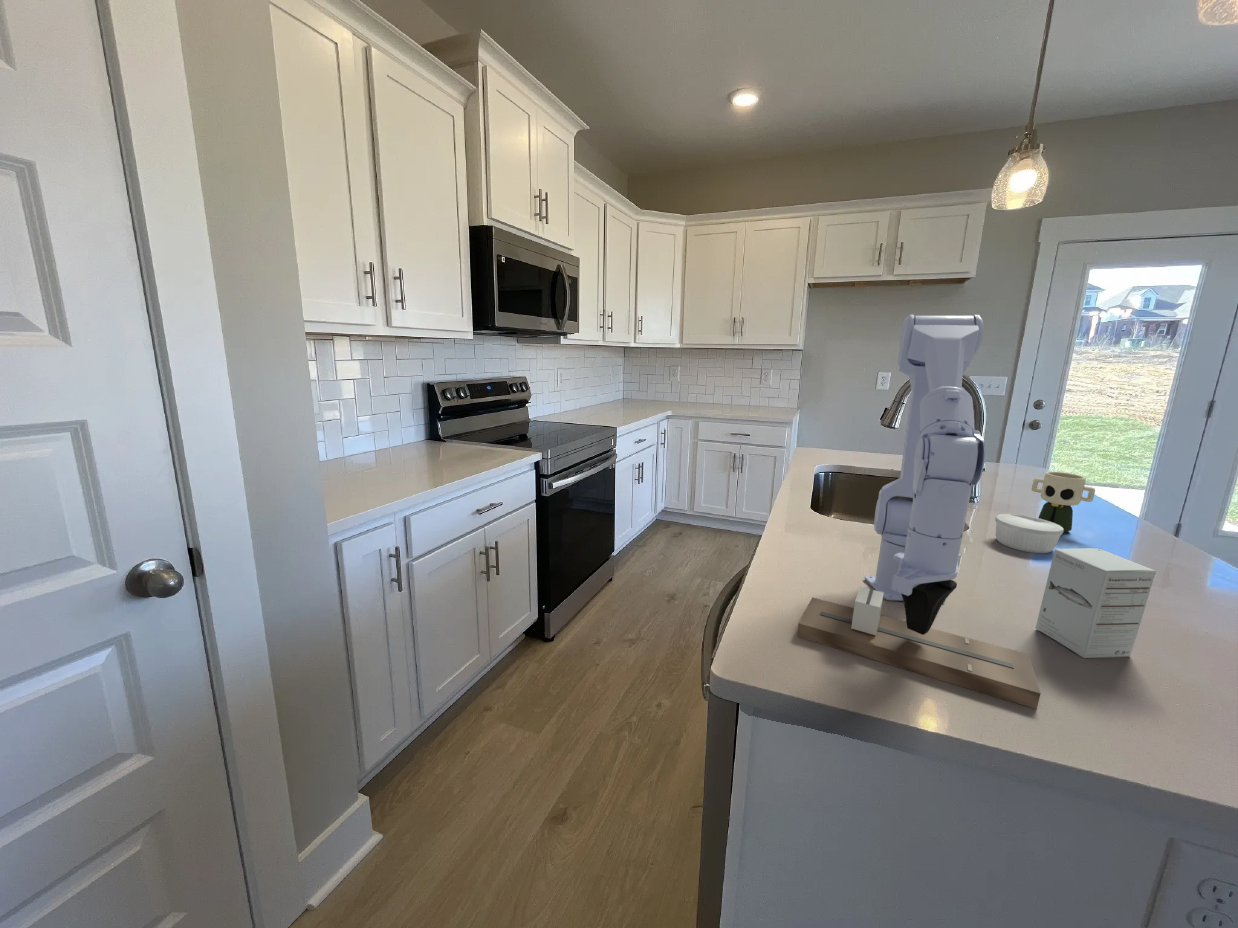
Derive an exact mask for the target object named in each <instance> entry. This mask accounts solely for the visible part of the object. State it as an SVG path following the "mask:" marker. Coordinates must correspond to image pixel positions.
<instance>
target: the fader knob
mask: <svg viewBox="0 0 1238 928" xmlns="http://www.w3.org/2000/svg"><path fill="white" fill-rule="evenodd" d="M883 595H884V592H880V591H876V590H875V589H874V588H866V587H862V586H860V587H859V589H858V591H857V595H856V597H855V600H854V601H855V602H854V607H853V608H854V613H853V619H852V626H851V628H852V629H855V630H859V631H862V632H866V633H869V634H873V635H876V634H877V629H878V625H879V620H880V615H881V613H882V608H883V607H882V606H883V602H884V601H883V600H884V598H883Z"/></svg>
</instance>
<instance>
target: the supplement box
mask: <svg viewBox="0 0 1238 928" xmlns="http://www.w3.org/2000/svg"><path fill="white" fill-rule="evenodd" d="M1053 551H1054V552H1053V555H1052V560H1051V564H1050V568H1049V573H1048V576H1047V581H1046V584H1045V588H1044V592H1043V596H1042V600H1041V604H1040V608H1039V613H1038V616H1037V621H1036V624H1035V630H1036V631H1039V632H1041V633H1043V634H1045V635H1046V636H1048V637H1049V638H1051V639H1052V640H1054V641H1056V642H1058V643H1059V644H1061V645H1062V646H1064V647H1066V648H1067V649H1069V650H1071V651H1072V652H1074V653H1075V654H1077V656H1079V657H1081V658H1082V659H1087V658H1088V659H1094V658H1095V659H1096V658H1097V659H1098V658H1099V659H1100V658H1101V659H1103V658H1123V657H1125V658H1126V657H1127V658H1128V657H1131V655H1132V651H1133V649H1134V646H1135V643H1136V639H1137V637H1138V636H1137V635H1138V633H1139V630H1140V625H1141V622H1142V619H1143V615H1144V612H1145V609H1146V606H1147V602H1148V598H1149V596H1150V592H1151V588H1152V585H1153V582H1154V579H1155V576H1156V574H1157V570H1155V569H1152V568H1150V567H1148V566H1144V565H1142V564H1140V563H1137V562H1134V561H1132V560H1129V559H1127V558H1124V557H1123V556H1119V555H1116V554H1115V553H1112V552H1109V551H1107V550H1103V549H1101V548H1097V547H1096V548H1093V547H1090V548H1089V547H1087V548H1086V547H1085V548H1083V547H1082V548H1054V550H1053Z"/></svg>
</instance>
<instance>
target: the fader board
mask: <svg viewBox="0 0 1238 928" xmlns="http://www.w3.org/2000/svg"><path fill="white" fill-rule="evenodd" d="M853 613H854V607H850V606H847V605H843V604H839V603H835V602H831V601H828V600H824V599H820V598H816V597H811V599H810V600H809V603H808V605H807V606H806V608H805V611H804V612H803V614H802V616H801V618H800V620H799V621H798V627H797V635H796V636H797V637H798V638H801V639H806V640H807V641H808V640H809V641H811V642H815V643H818V644H822V645H825V646H828V647H831V648H835V649H838V650H841V651H844V652H848V653H851V654H854V655H858V656H861V657H864V658H867V659H870V660H874V661H877V662H881V663H884V664H887V665H891V666H893V667H894V666H895V667H897V668H901V669H903V670H907V671H909V672H914V673H916V674H919V675H924V676H927V677H930V678H933V679H936V680H940V681H943V682H947V683H950V684H953V685H956V686H960V687H963V688H966V689H969V690H972V691H976V692H979V693H982V694H985V695H990V696H992V697H995V698H999V699H1002V700H1006V701H1007V702H1008V701H1009V702H1012V703H1016V704H1018V705H1022V706H1024V707H1029V708H1032V709H1036V710H1037V709H1038V706H1039V702H1040V698H1041V695H1042V693H1041V691H1040V686H1039V683H1038V681H1037V678H1036V673H1035V671H1034V667H1033V665H1032V660H1031V657H1030V654H1029V653H1026V652H1023V651H1018V650H1014V649H1012V648H1007V647H1003V646H1000V645H996V644H993V643H992V644H991V643H989V642H988V643H987V642H985V641H982V640H981V641H980V640H977V639H972V638H969V637H965V636H961V635H958V634H954V633H951V632H950V633H949V632H946V631H942V630H940V629H936V628H932V627H931V628H930V630H929V631H928V632H927V633H926V634H924V635H922V634H919V633H917V632H915V631H913V630H910V629H908V628H907V623H906V620H900V619H897V618H892V617H889V616H886V615H881V614H880V620H879V625H878V629H877V634H876V635H873V634H869V633H866V632H862V631H859V630H855V629H852V628H851V626H852V619H853Z"/></svg>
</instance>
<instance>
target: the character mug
mask: <svg viewBox="0 0 1238 928" xmlns="http://www.w3.org/2000/svg"><path fill="white" fill-rule="evenodd" d="M1086 481H1087V477H1085V476H1084V475H1079V474H1076V473H1075V474H1074V473H1069V472H1065V471H1064V472H1063V471H1045V475H1044V478H1039V477H1036V478H1035V477H1034V478H1033V480H1032V484H1031V492H1035V493H1039V494H1040V499H1042V500H1043V501H1045V503H1044V504H1043V505H1042V508H1041V509H1040V513H1039V515H1038V517H1037V518H1039V519H1043V520H1046V521H1050V522H1052V523H1055V524H1057V525H1059V526H1061V527H1062V528H1063V529H1064V531H1063V533H1067V532H1070V531H1072V529H1073V516H1074V514H1073V510H1074V509H1073V507H1072V506H1078V505H1079V504H1080V503H1081V502H1082V501H1083V502H1087V503H1092V502H1093V501H1094V498H1095V497H1094V496H1095V493H1096V489H1095V487H1093V486H1086ZM1039 483H1041V484H1042V487H1041V488H1039V487H1038V484H1039ZM1084 491H1085V492H1088V494H1087V496H1083V493H1084Z"/></svg>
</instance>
